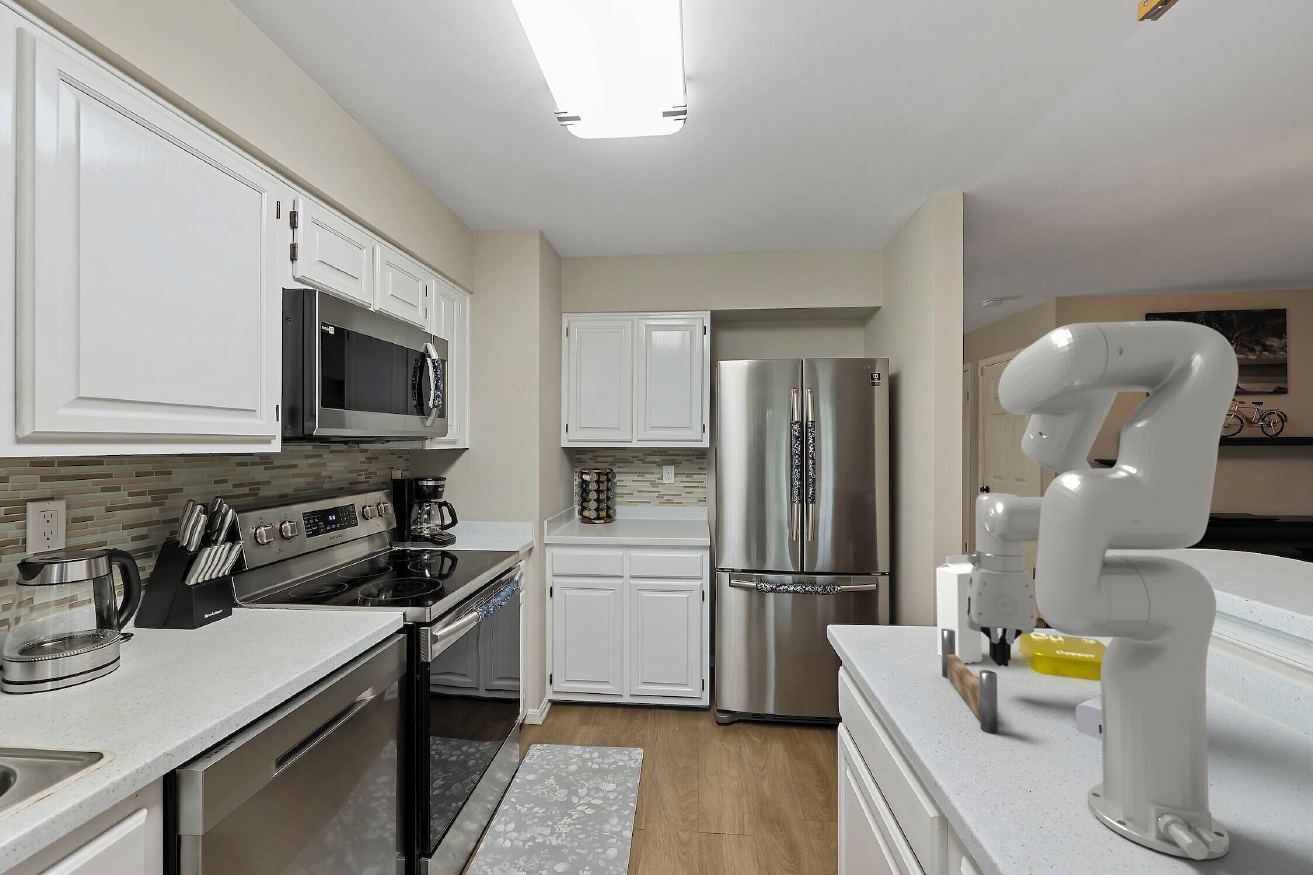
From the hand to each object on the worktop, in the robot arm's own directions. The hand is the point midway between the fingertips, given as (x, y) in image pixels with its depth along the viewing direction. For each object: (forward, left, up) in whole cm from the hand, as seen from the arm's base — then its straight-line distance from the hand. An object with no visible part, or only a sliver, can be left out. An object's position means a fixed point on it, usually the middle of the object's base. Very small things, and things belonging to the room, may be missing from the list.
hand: (1000, 662), depth 103 cm
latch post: (+8, +6, -6) cm, 12 cm away
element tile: (+20, -19, -7) cm, 28 cm away
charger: (-9, -16, -7) cm, 19 cm away
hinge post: (-14, +6, -6) cm, 16 cm away
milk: (+19, +1, -6) cm, 20 cm away
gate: (-3, +6, -6) cm, 9 cm away
